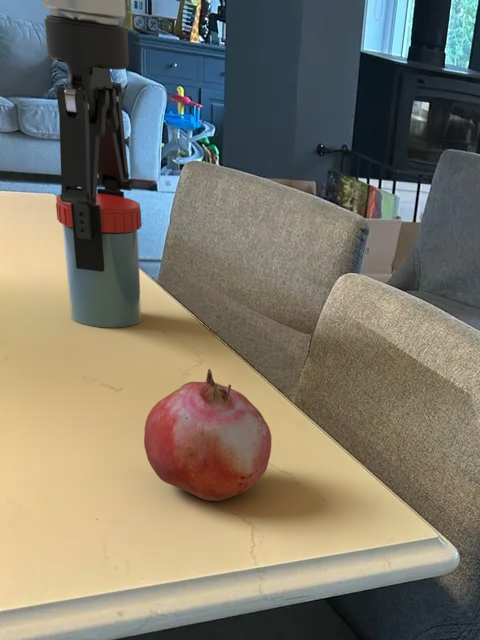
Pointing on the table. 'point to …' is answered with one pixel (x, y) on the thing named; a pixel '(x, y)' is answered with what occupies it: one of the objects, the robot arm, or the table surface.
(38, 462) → the table surface
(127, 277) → the jar
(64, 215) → the lid
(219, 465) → the fruit
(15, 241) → the table surface
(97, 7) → the robot arm
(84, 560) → the table surface
